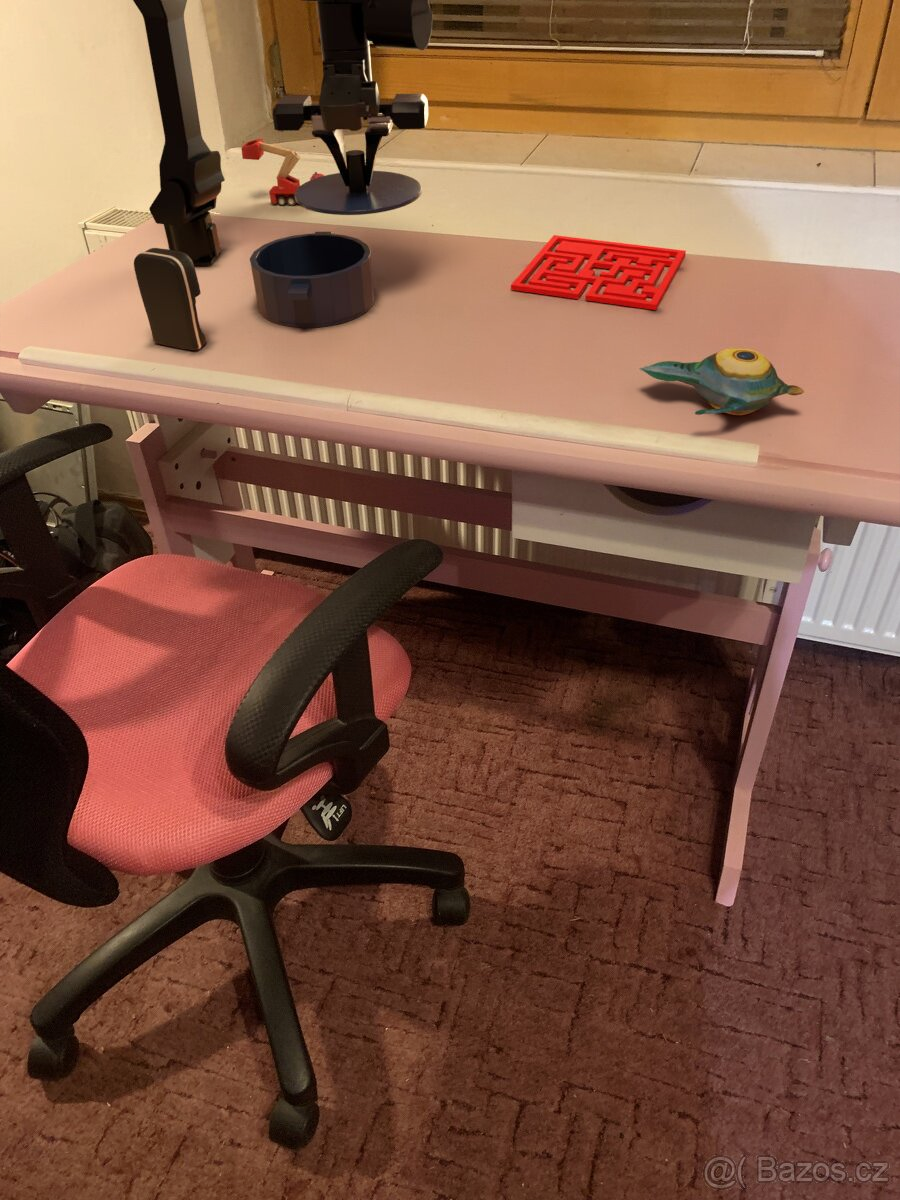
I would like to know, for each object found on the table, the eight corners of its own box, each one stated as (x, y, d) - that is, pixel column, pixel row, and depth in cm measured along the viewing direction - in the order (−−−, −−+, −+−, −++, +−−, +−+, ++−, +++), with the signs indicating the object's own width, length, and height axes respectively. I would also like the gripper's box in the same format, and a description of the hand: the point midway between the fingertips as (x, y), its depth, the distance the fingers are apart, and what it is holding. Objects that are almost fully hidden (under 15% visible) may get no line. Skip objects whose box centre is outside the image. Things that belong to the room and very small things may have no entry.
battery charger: (215, 340, 111) (196, 249, 104) (197, 353, 109) (176, 260, 101) (170, 331, 114) (148, 241, 106) (151, 344, 111) (127, 252, 103)
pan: (242, 337, 112) (233, 287, 108) (275, 272, 128) (267, 226, 123) (364, 337, 111) (359, 286, 107) (382, 272, 127) (378, 226, 122)
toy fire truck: (329, 206, 149) (322, 144, 142) (249, 205, 150) (239, 143, 143) (333, 200, 151) (326, 138, 145) (255, 199, 152) (245, 138, 146)
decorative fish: (729, 368, 103) (740, 319, 99) (799, 417, 94) (813, 366, 90) (634, 391, 99) (640, 341, 95) (696, 444, 91) (706, 392, 87)
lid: (284, 220, 110) (277, 172, 107) (308, 179, 123) (303, 135, 119) (415, 219, 109) (413, 171, 106) (426, 178, 122) (425, 134, 118)
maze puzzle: (510, 289, 121) (510, 284, 120) (553, 239, 134) (553, 235, 134) (655, 309, 115) (656, 304, 114) (685, 255, 129) (685, 250, 128)
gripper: (252, 62, 99) (274, 206, 110) (417, 59, 98) (423, 205, 108) (273, 42, 108) (292, 178, 118) (425, 39, 106) (431, 177, 117)
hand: (358, 185), depth 115 cm, fingers closed on lid, 2 cm apart
